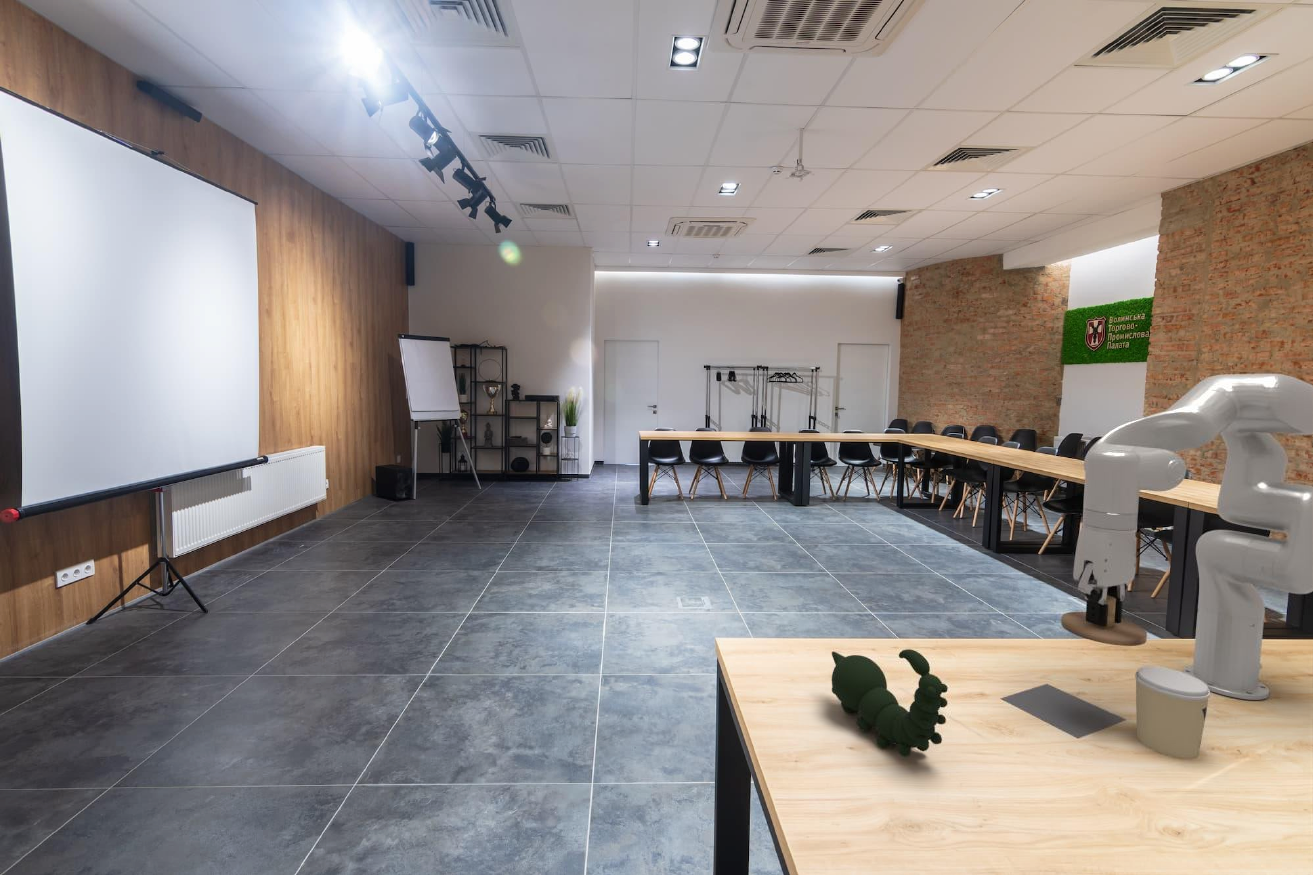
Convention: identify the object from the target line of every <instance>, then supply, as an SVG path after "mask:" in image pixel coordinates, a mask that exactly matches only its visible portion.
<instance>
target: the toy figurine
mask: <svg viewBox="0 0 1313 875" xmlns="http://www.w3.org/2000/svg"><path fill="white" fill-rule="evenodd" d="M831 657H832V659H833V661H834V665H835V666H834V668H833V671H832V674H831V692H832V693H833V694H832V695H835V696H836V698H837V699H838V700H839V702H840V706H841V708H842V710H843V711H844V712H846V713H848V714H850V715H853V714H858V713H859V717H857V720H856V725H857V727H858V729H859V730H861V731H862V732H864V733H867V732H869V731H871V729H872V728H874V729H876V731H877V732H878V735H877V736H876V739H875V741H876V743H877V745H878V747H879V748H883V749H884V748H885V749H886V748H888V747H889V745H890V744H893V745H896V746H897V747H896V748H897V752H898V754H899V755H900V756H902V757H906V758H907V757H908V756H909V755H911V752H912V749H913V748H914V749H917V750H918V751H920V752H927V751H928V749H929V747H930V742H929V741H931V743H932V744H933V745H940V744H942V742H943V739H942V735H941V734H940V733H939V732H937V731H936V725H937V724H938V725H944V724H946V722H947V719H946V716H945V715H943V714H941V713H939V710H940V708H943V709H944V708H946V707H947V705H948V700H947V699H946V697H943V696H941V695H943V694H944V693H947V692H948V686H947V685H946V684H945V683H942V680H941V679H940V678H939V677H938V676H936V675H934V674H932V673H930V671H931V669H930V668H931V667H930V663H929V662H928V660H927V659H926V657H925V656H923V654H921V653H920V652H918V651H916V650H914V649H910V648H908V649H907V648H906V649H902V650H901V651H900V652H899V653H898V657H899V659H905V660H906V661H907V662H908V663H909V665H910V666H911V668H912V669H913V670H914V672H915V673H916V674H917V675H918V676H920V677H919V680H918V687H917V689H915V691H914V694H913V697H914V698H913V700H914V701H912V703H911V704H910V706H909V711H908V710H907V709H906V708H905V707H903V706H901V705H899V701H898V699H897V698H896V696H895V695H894V693H893V692H892V691H889V690H888V682H887V678H886V675H885V673H884V672H883V670H882V669H881V667H880V666H879V665H878V664H877V663H876V662H875V661H874V660H873V659H871V658H868V657H867V656H863V655H860V654H851V655H847V656H844V655H842V654H840V653H838V652H836V651H831Z"/></svg>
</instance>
